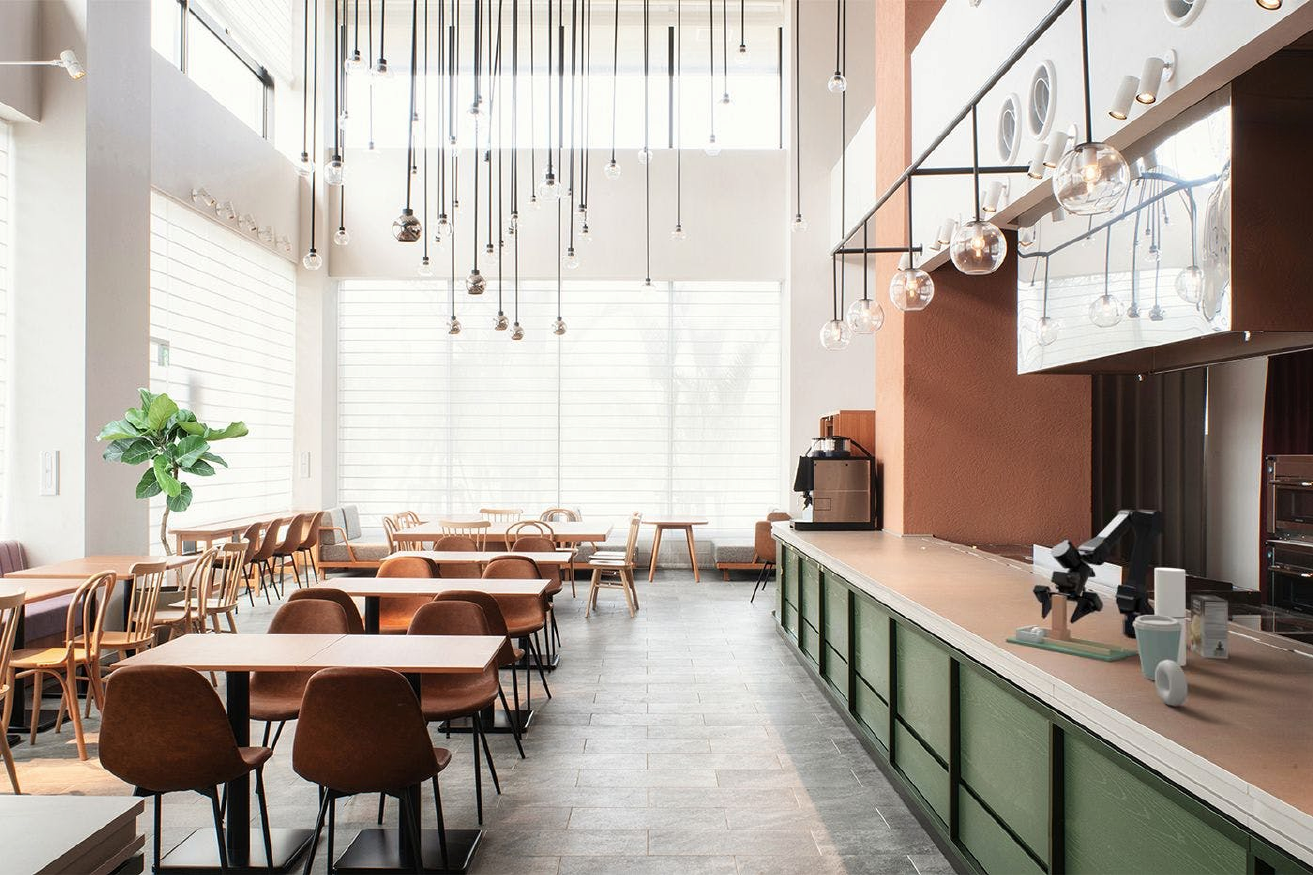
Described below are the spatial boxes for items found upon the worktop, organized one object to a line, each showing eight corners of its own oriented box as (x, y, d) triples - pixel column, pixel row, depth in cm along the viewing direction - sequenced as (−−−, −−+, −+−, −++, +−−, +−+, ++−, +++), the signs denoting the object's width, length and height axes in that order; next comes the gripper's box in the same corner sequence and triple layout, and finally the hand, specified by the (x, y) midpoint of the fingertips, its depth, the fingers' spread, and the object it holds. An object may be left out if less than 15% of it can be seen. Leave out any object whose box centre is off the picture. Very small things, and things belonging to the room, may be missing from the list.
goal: (1036, 634, 260) (1036, 622, 260) (1062, 639, 253) (1062, 627, 253) (1015, 639, 253) (1015, 627, 253) (1041, 644, 246) (1041, 631, 246)
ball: (1045, 636, 254) (1038, 626, 256) (1046, 634, 251) (1039, 623, 253) (1034, 642, 254) (1028, 631, 256) (1035, 639, 251) (1029, 628, 253)
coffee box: (1189, 650, 243) (1189, 594, 243) (1214, 651, 242) (1214, 595, 242) (1203, 658, 234) (1203, 599, 234) (1229, 659, 233) (1229, 600, 233)
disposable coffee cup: (1182, 686, 205) (1182, 623, 205) (1131, 679, 210) (1131, 619, 211) (1182, 676, 214) (1182, 616, 214) (1133, 670, 219) (1133, 612, 220)
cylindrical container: (1175, 666, 224) (1175, 571, 224) (1149, 661, 230) (1148, 568, 230) (1191, 664, 227) (1191, 570, 227) (1165, 658, 233) (1164, 567, 234)
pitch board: (1034, 635, 262) (1034, 627, 262) (1136, 653, 238) (1136, 645, 238) (1006, 641, 253) (1006, 633, 253) (1109, 661, 229) (1109, 653, 229)
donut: (1152, 698, 194) (1151, 654, 194) (1167, 699, 194) (1167, 655, 194) (1174, 711, 184) (1173, 665, 184) (1191, 712, 184) (1190, 666, 184)
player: (1058, 639, 251) (1058, 593, 251) (1070, 641, 248) (1070, 595, 249) (1048, 642, 248) (1048, 595, 248) (1059, 644, 245) (1059, 597, 245)
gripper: (1035, 558, 258) (1015, 598, 251) (1097, 564, 243) (1078, 607, 236) (1049, 581, 263) (1030, 621, 256) (1111, 589, 248) (1092, 632, 241)
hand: (1056, 620), depth 247 cm, fingers open, 8 cm apart
